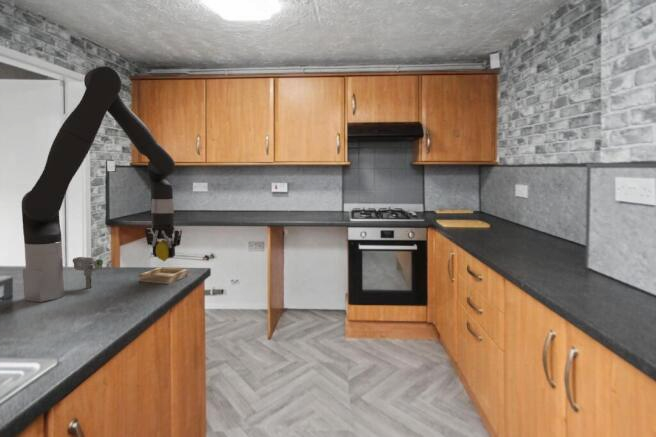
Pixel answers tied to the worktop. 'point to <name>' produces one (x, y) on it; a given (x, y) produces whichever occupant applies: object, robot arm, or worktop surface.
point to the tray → (163, 275)
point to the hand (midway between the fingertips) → (164, 256)
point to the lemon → (162, 250)
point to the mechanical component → (87, 267)
